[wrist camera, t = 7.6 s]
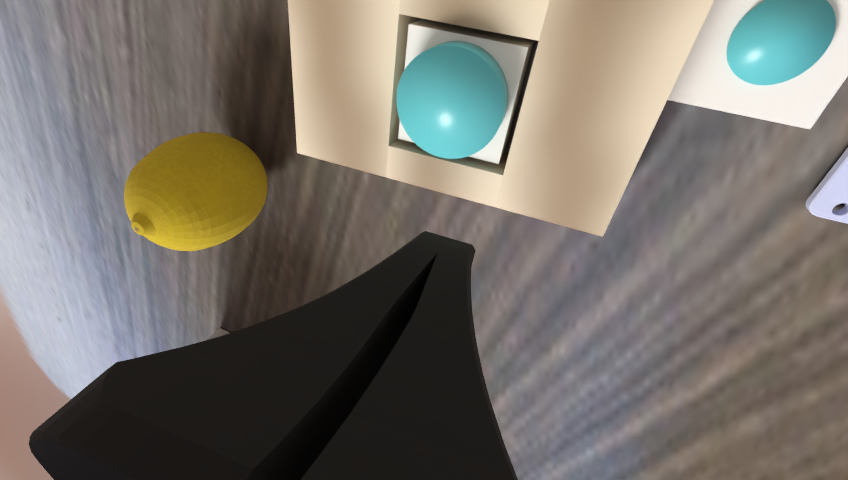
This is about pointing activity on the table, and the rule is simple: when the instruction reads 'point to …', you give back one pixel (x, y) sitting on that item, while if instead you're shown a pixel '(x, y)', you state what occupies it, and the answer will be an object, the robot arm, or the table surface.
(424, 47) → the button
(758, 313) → the table surface
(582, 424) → the table surface
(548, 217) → the button board
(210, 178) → the lemon
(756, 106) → the card
